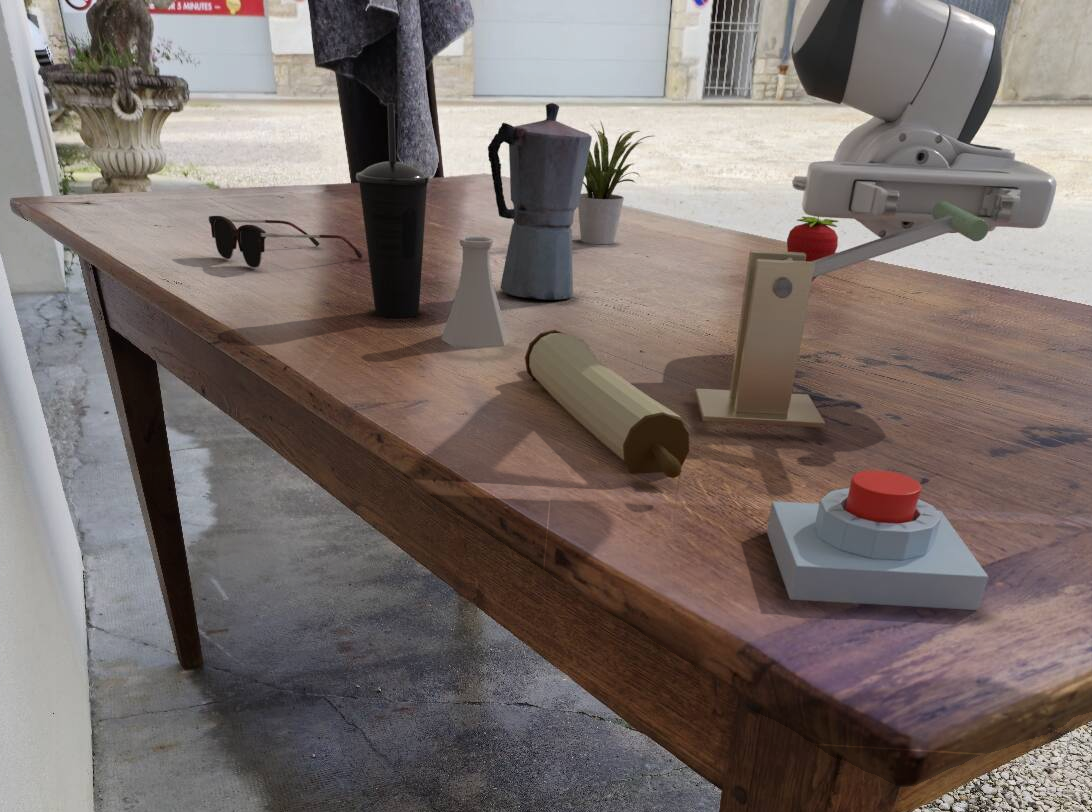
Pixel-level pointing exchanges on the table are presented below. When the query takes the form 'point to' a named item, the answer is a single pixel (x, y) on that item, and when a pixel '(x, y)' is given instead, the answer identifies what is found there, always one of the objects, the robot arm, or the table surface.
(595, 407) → the rolling pin
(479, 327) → the flask
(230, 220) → the sunglasses
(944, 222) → the lever
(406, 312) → the drinking cup
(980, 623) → the table surface
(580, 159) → the moka pot
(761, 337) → the bracket
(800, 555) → the control block
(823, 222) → the strawberry
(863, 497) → the button
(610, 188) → the house plant
